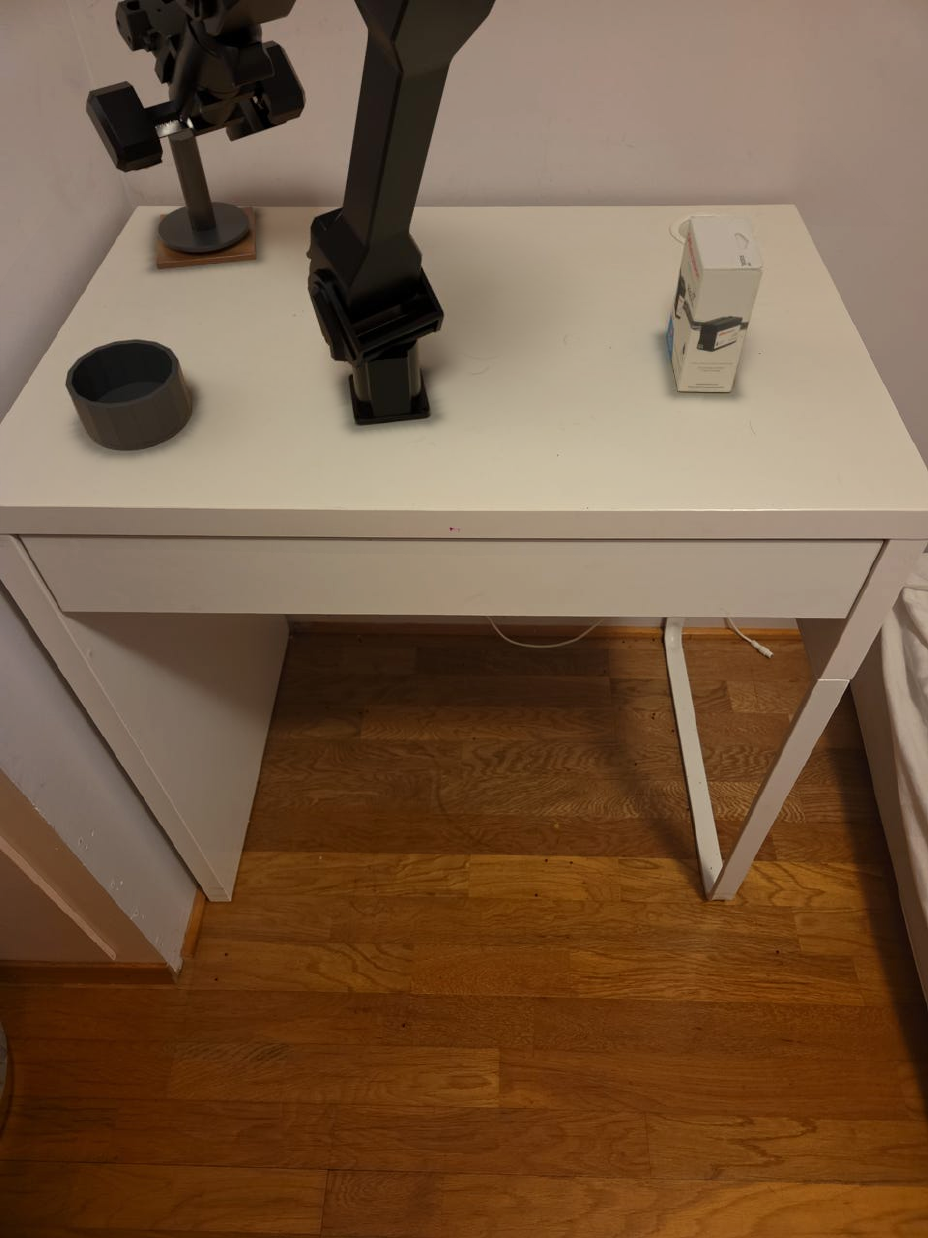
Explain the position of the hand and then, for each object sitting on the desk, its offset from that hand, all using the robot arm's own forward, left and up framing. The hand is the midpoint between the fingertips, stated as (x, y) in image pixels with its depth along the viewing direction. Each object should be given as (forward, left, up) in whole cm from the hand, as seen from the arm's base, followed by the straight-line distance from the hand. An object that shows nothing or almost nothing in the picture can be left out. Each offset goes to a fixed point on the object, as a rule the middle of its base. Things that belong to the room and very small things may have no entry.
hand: (187, 149), depth 87 cm
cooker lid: (+1, 0, -8) cm, 8 cm away
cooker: (-28, +6, -9) cm, 30 cm away
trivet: (+1, 0, -9) cm, 10 cm away
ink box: (-29, -44, -10) cm, 54 cm away
